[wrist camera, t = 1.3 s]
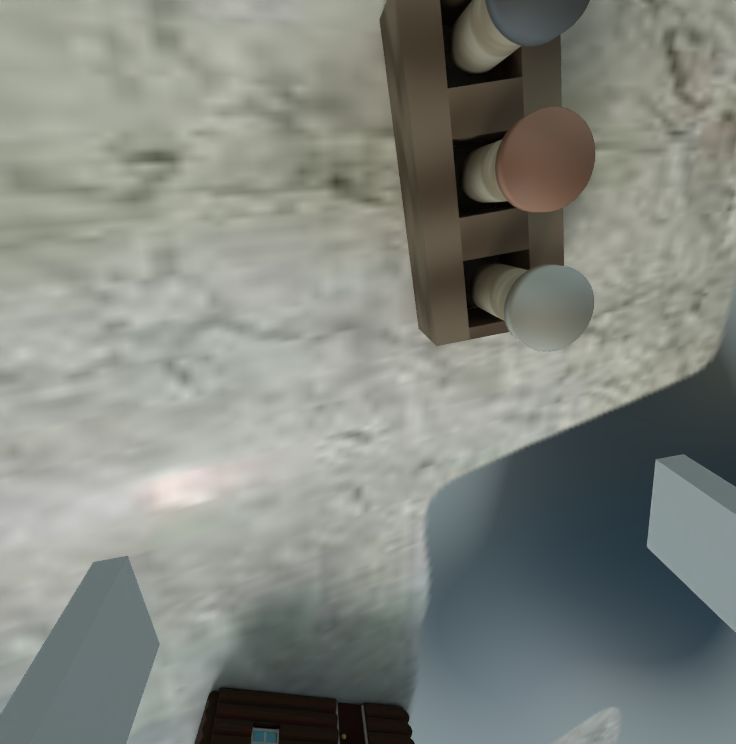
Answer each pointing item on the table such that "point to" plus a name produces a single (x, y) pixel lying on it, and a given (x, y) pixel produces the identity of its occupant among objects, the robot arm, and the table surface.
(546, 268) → the plug cream
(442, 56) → the socket block
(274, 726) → the model building
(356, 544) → the table surface
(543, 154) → the plug terracotta
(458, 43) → the plug charcoal
